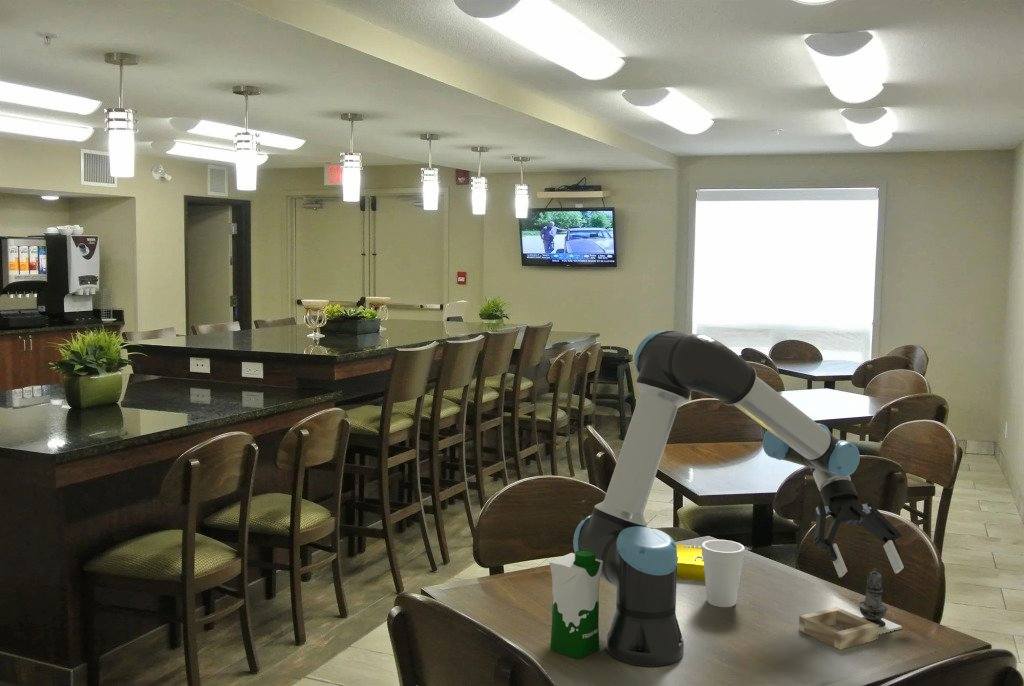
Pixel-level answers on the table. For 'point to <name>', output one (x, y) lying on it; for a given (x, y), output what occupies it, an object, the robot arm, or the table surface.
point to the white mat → (887, 626)
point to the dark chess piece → (873, 600)
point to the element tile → (690, 562)
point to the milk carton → (575, 603)
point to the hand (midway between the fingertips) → (871, 572)
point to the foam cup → (722, 571)
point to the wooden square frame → (853, 635)
